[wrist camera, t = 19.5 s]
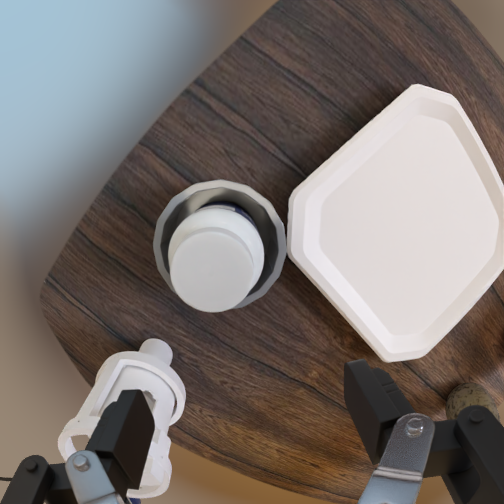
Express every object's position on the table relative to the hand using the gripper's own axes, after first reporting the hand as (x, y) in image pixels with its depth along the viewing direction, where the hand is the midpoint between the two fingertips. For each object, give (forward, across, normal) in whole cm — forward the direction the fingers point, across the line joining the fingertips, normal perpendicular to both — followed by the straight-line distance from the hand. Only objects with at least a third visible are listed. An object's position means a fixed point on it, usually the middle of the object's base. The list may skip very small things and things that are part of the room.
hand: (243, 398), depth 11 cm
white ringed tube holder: (+15, +9, +6) cm, 18 cm away
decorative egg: (+15, -24, +20) cm, 35 cm away
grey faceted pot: (+15, +1, -4) cm, 15 cm away
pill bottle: (+14, +1, -4) cm, 15 cm away
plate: (+15, -16, -2) cm, 22 cm away
